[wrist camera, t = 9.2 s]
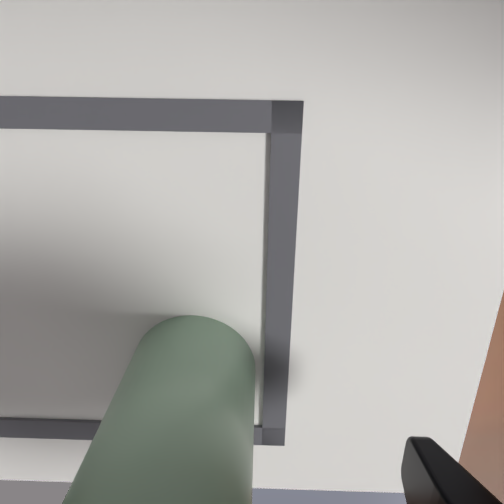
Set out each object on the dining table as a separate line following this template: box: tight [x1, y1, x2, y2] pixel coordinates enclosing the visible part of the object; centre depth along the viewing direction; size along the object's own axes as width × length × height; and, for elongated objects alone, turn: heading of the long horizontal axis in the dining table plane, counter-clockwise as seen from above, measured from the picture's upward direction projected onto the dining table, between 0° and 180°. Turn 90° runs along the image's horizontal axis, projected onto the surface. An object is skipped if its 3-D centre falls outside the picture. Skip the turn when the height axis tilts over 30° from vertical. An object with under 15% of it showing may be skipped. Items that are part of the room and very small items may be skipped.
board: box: [0, 0, 504, 493], centre depth 8 cm, size 20×20×2 cm
